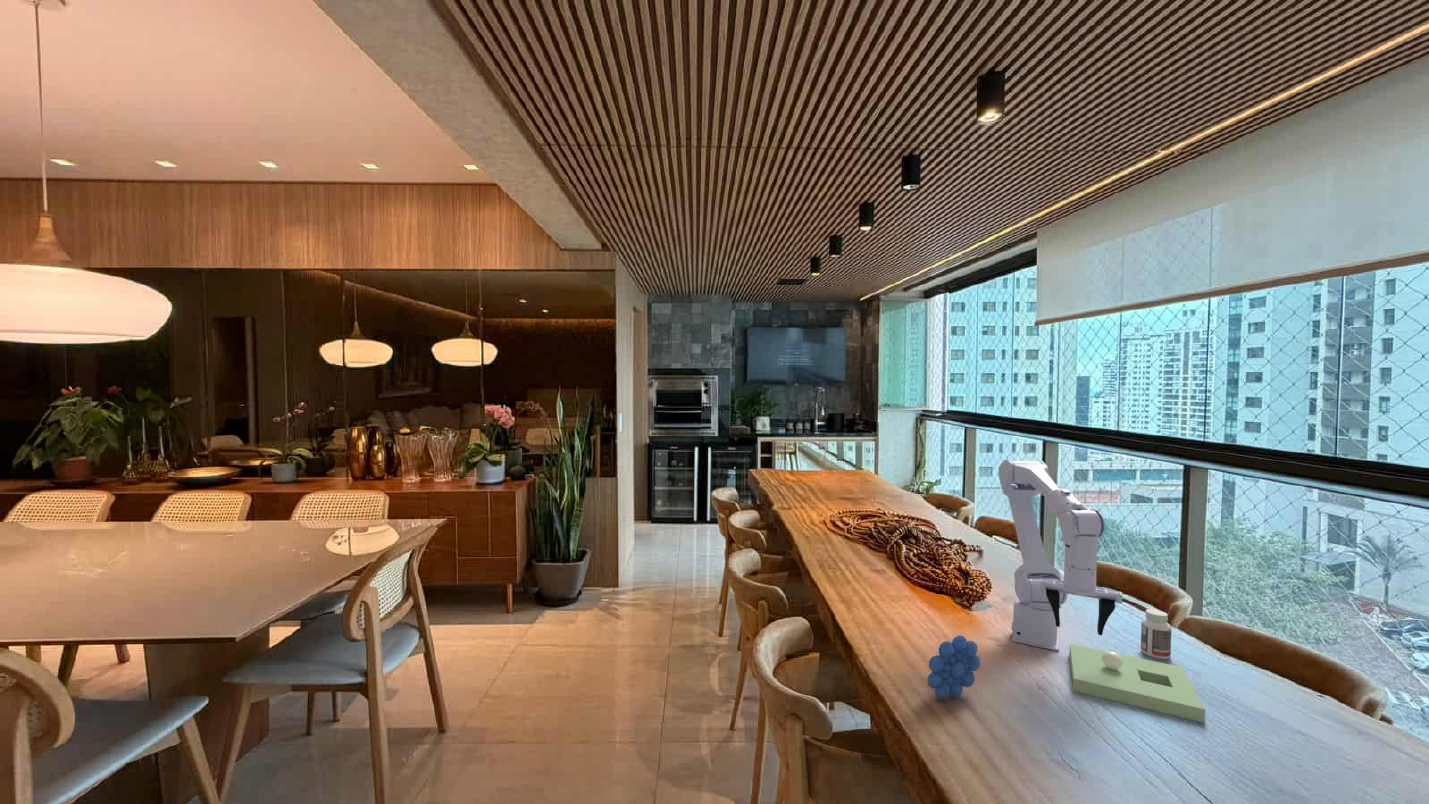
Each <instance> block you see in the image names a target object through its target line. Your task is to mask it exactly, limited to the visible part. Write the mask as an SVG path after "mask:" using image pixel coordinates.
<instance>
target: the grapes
mask: <svg viewBox="0 0 1429 804" xmlns="http://www.w3.org/2000/svg"><path fill="white" fill-rule="evenodd" d="M977 653H978V645H977V642H975V641H973V640H967V638H966V637H965V636H964V635H957V636H955V637H954V638H953V639H952V641H948V640H945V641H943V642H941V643H940V644H939V647H938V654H937V655H934V656H932V657H931V658H930V659H929V662H928V667H929V670H930V671H931V672H930V673H929V674H928V676H927V680H926V683H927V685H928V687H930V689H934V694H935V696H936V697H937V698H938V699H946V698H948V696H949V697H950V696H951V697H954V698H953V699H957V698H959V697H960V696H961V695H962V694H963V690H964V688H969V687H971V686H973V685H974V684H975V680H976V678H975V674H974V672H976V671H978V669H979V668H981V667H980V666H981V659H980V657H979V656H978V655H977ZM951 697H950V698H951Z"/></svg>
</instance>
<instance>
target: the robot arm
mask: <svg viewBox="0 0 1429 804" xmlns="http://www.w3.org/2000/svg"><path fill="white" fill-rule="evenodd" d="M998 469H999V470H998V478H999V483H1000V488H1001V490H1002V494H1003V495H1005V496H1006V497H1007V499H1008V502H1009V506H1010V512H1011V515H1012V520H1013V524H1014V529H1015V533H1016V536H1017V541H1018V546H1019V551H1020V555H1021V559H1022V562H1023V563H1022V564H1021V565H1020V566H1018V568H1017V569H1016V570H1015V571H1014V573H1013V576H1014V591H1015V594H1016V597H1017V599H1018V600H1017V599H1014V600H1013V613H1012V614H1013V616H1012V617H1013V619H1012V622H1011V631H1012V642H1016V643H1019V644H1024V645H1029V646H1033V647H1037V648H1042V649H1048V650H1052V651H1056V652H1059V651H1060V641H1059V636H1058V628H1060V626H1061V621H1060V609H1061V608H1062V605H1063V604H1065V603H1066V601H1067V599H1068V595H1071V596H1072V595H1073V596H1079V597H1085V598H1090V599H1097V600H1098V617H1097V618H1098V619H1097V625H1096V629H1097V630H1096V631H1097V635H1098V636H1103V634H1104V629H1105V626H1106V624H1107V622H1108V619H1109V617H1110V616H1111V615H1112V613H1113V612H1114V611H1115V610H1116V604H1120V605H1121V604H1123V593H1122V592H1121V591H1117V590H1112V589H1109V588H1104V587H1100V586H1097V568H1098V567H1097V566H1098V565H1097V564H1098V563H1097V561H1098V560H1097V559H1098V538H1100V537H1102V536H1103V535H1104V532H1105V529H1106V524H1105V520H1104V517H1103V515H1102V513H1100V511H1099V510H1098V509H1095V508H1089V507H1086V506H1085V505H1084V504H1083V503H1081V501H1079V499H1077V498H1076V497H1075V495H1073V494H1072V493H1071V491H1070V490H1069V489H1065V488H1059V487H1058V485H1057V484H1056V482H1054V480H1053V479H1052V477H1051V476H1050V472H1049V471H1050V470H1049V466H1048V465H1047V464H1046V463H1045V462H1044V461H1042V460H1014V459H1013V460H1010V459H1004V460H1002V462H1001V463H1000V466H999V468H998ZM1040 494H1041V495H1042V496H1043V497H1044V498H1045V499H1044V503H1045V505H1046V507H1047V508H1048V509H1049V510H1050V512H1051V513H1052V514H1053V515H1054V516H1055V517H1056V518H1057V519H1058V525H1059V529H1060V532H1061V540H1062V542H1063V543H1064V560H1063V561H1064V563H1063V565H1064V566H1063V567H1064V568H1063V569H1064V570H1063V573H1064V574H1063V578H1062V576H1061V572H1060V570H1059V569H1058V568H1057V567H1055V566H1053V565H1051V564H1050V563H1049V562H1048V560H1047V556H1046V554H1045V549H1044V545H1043V542H1042V538H1041V533H1040V530H1039V525H1038V522H1037V517H1036V514H1035V510H1034V506H1033V503H1032V502H1033V501H1032V500H1033V498H1035V497H1038V496H1039V495H1040Z"/></svg>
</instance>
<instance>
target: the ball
mask: <svg viewBox="0 0 1429 804" xmlns="http://www.w3.org/2000/svg"><path fill="white" fill-rule="evenodd" d="M1118 654H1119V653H1117V652H1115V651H1110V650H1107V652H1105V653H1104V654H1103V655H1102V661H1103V663H1104V665H1105V666H1106V667H1107V668H1109V669H1112V670H1118V669H1120V668H1121V667H1122V664H1123V662H1122V659H1121V657H1120V656H1119V655H1118Z"/></svg>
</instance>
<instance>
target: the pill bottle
mask: <svg viewBox="0 0 1429 804" xmlns="http://www.w3.org/2000/svg"><path fill="white" fill-rule="evenodd" d="M1168 616H1169V615H1168V613H1166V612H1164V611H1162V610H1159V609H1153V608H1152V609H1151V608H1150V609H1149V608H1148V609H1146V610H1145V618H1143V619H1142V620H1141V624H1140V628H1141V629H1140V631H1141V632H1140V651H1141V652H1142V654H1144V655H1146V656H1147V657H1151V658H1155V659H1158V660H1169V659H1170V658H1171V653H1172V650H1171V649H1172V627H1171V624H1169V623H1168V620H1169V618H1168Z"/></svg>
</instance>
